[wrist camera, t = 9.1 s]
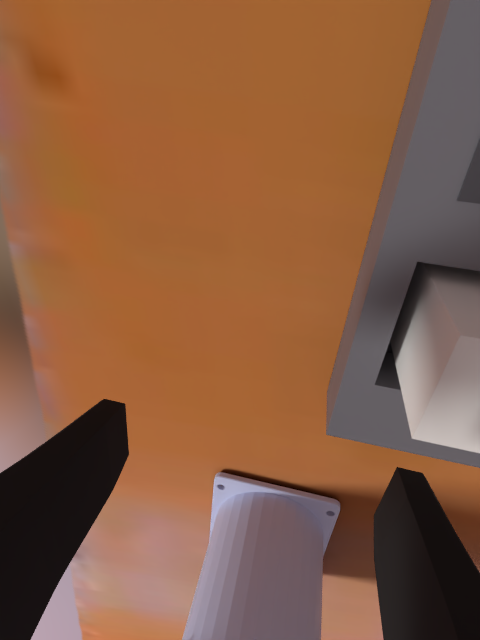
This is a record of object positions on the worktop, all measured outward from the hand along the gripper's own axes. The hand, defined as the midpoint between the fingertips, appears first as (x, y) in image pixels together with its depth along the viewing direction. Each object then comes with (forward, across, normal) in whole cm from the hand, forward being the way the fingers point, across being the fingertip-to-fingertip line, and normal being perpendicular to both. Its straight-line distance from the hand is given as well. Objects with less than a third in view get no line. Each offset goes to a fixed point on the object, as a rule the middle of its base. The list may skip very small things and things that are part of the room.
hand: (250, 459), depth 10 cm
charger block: (+9, -7, -1) cm, 11 cm away
